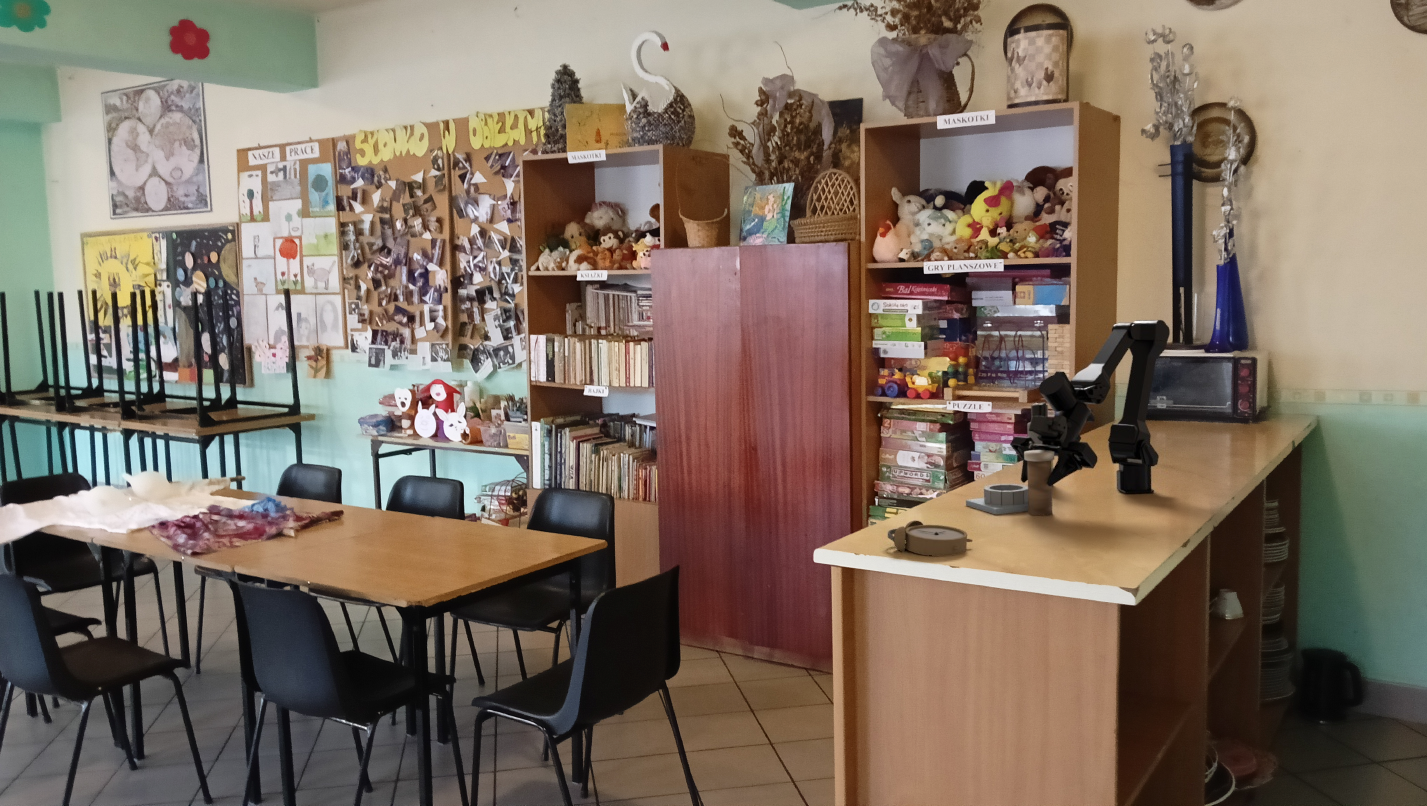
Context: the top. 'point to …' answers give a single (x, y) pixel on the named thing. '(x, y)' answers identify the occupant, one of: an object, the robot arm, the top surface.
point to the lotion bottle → (1038, 410)
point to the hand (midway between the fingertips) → (1035, 483)
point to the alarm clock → (929, 539)
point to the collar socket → (1002, 499)
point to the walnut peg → (1039, 481)
